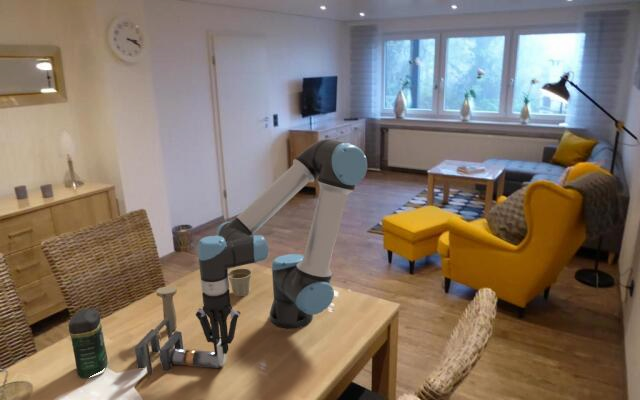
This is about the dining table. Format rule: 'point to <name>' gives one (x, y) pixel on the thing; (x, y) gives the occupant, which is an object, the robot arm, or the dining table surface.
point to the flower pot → (240, 281)
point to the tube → (194, 357)
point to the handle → (168, 304)
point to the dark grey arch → (164, 351)
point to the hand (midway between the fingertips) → (222, 361)
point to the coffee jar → (88, 342)
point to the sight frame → (156, 332)
